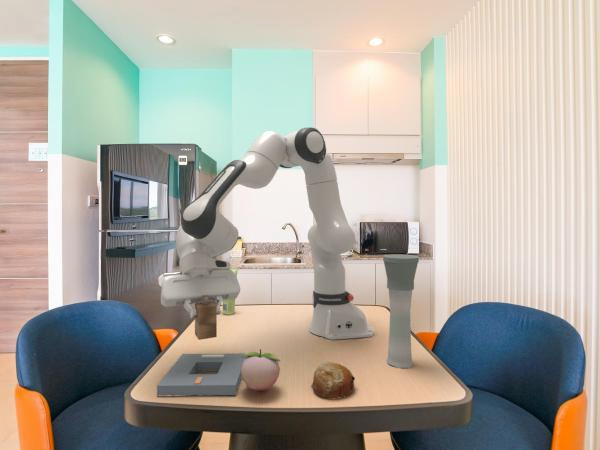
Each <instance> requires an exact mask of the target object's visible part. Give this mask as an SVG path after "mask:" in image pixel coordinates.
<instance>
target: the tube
mask: <svg viewBox="0 0 600 450" xmlns="http://www.w3.org/2000/svg"><path fill="white" fill-rule="evenodd" d="M230 270H231V271H233V272H234V273H235V275H236V277H237V276H238V271H239V267H232V266H231V267H230ZM221 304H222V314H223V315H225V316H228V315H234V314H235V310H236V308H235V307H236V299H229V300H222V302H221Z"/></svg>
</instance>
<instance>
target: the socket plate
mask: <svg viewBox="0 0 600 450" xmlns="http://www.w3.org/2000/svg"><path fill="white" fill-rule="evenodd" d="M246 353H247V352H246ZM246 353H245V352H244V353H241V352H240V353H182V354H181V355H180V356H179V358H178V359H177V360H176V361H175V363H174V364H173V365H172V366H171V367H170V369H169V370H168V371H167V373H166V374H165V375H164V376H163V377H162V379H161V380H160V381H159V382H158V383H157V385H156V396H157V395H236V396H237V394H236V393H238V391H239V388H238V387H240V385H239V384H241V381H242V375H241V367H242V363H243V361H244V359H245V358H246V357H247V356H245V357H242V356H243V355H244V354H246ZM241 357H242V358H241ZM197 372H217V373H202V374H201V373H200V374H199V373H197ZM237 390H238V391H237Z"/></svg>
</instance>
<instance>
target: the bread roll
mask: <svg viewBox="0 0 600 450" xmlns="http://www.w3.org/2000/svg"><path fill="white" fill-rule="evenodd" d="M312 378H313V379H312V383H311V386H310V387H311V388H312V390H313V391H314V392H315V394H316V395H317V396H318V397H320V396H321V397H320V398H323V397H324V398H323V399H328V398H337V399H339V398H338V397H342V398H345V397H344V396H346V397H347V395H348V396H349V395H350V394H352V392H353V391H354V388H355V379H356V378H355V376H354V375H353V374H352V372H351V370H349V369H348V367H346V366H344V365H342V364H341V363H336V362H331V361H325V362H322V363H321V364H320V365H319V366H318V367H317V368H316V369H315V371H314V372H313V377H312Z"/></svg>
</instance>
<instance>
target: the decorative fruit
mask: <svg viewBox="0 0 600 450" xmlns="http://www.w3.org/2000/svg"><path fill="white" fill-rule="evenodd" d="M245 356H247V357H246V358H245V359H244V361H243V363H242V367H241V375H242V378H241V380H243V383H244V384H245V386H247V387H248V388H249V389H251V390H254V391H258V392H260V391H261V392H262V391H266V390H268V389H270V388H272V387H273V386H274V385H275V383H276V382H277V381H278V379H279V376H280V373H281V372H280V371H281V366H280V363H279V362H281V360H280V358H279V357H278V356H277V355H275V354H273V353H270V352H265V353H262V349H260V348H259V353H258V352H256V351H250V352H246V354H244V355H243V356H242V357H245ZM242 357H241V358H242Z"/></svg>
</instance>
